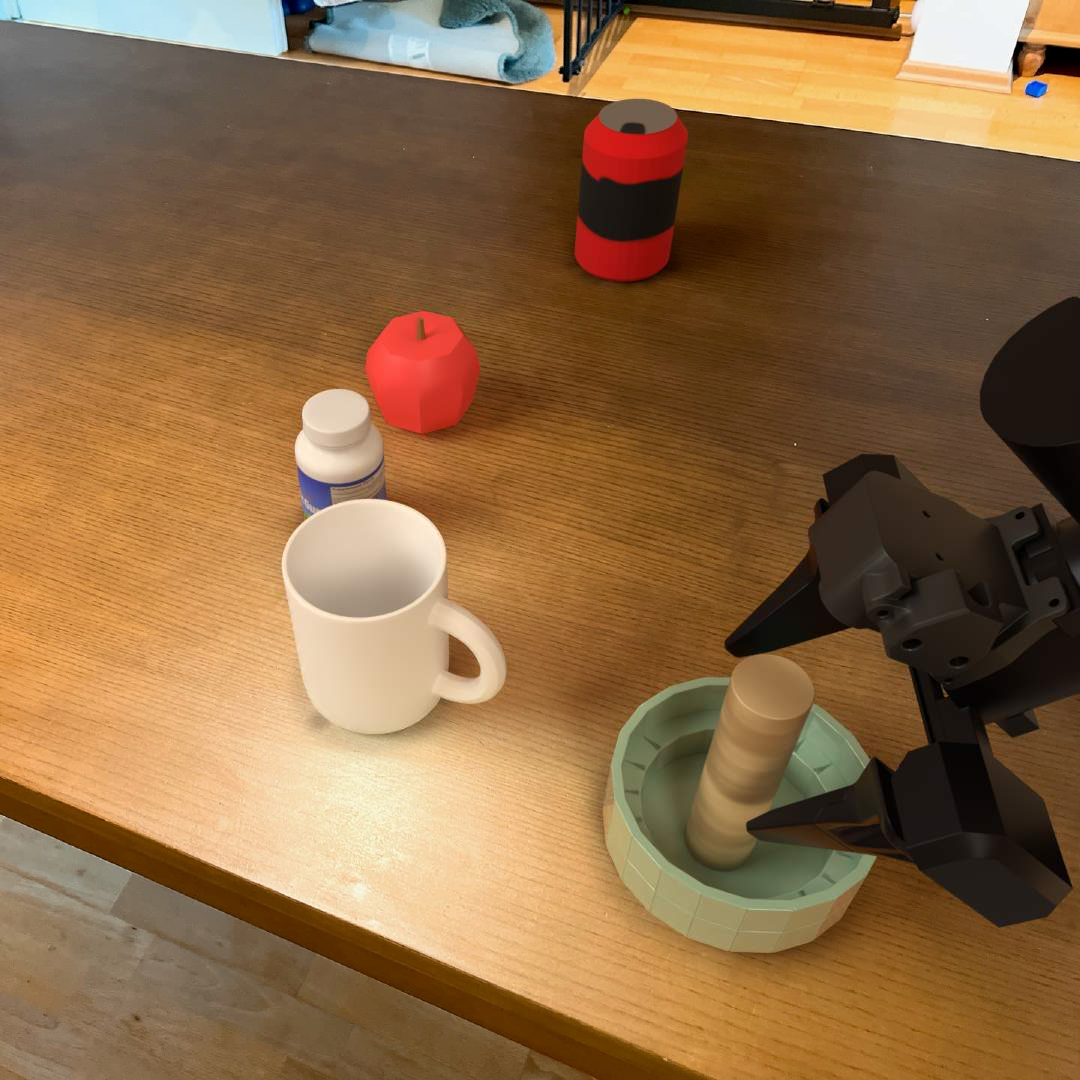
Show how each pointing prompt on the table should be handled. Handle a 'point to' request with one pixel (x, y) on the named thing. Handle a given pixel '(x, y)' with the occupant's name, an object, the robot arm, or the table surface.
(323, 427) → the pill bottle
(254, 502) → the table surface
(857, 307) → the table surface
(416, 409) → the apple
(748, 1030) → the table surface
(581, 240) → the soda can
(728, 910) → the bowl
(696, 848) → the stick
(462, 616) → the mug
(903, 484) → the robot arm
